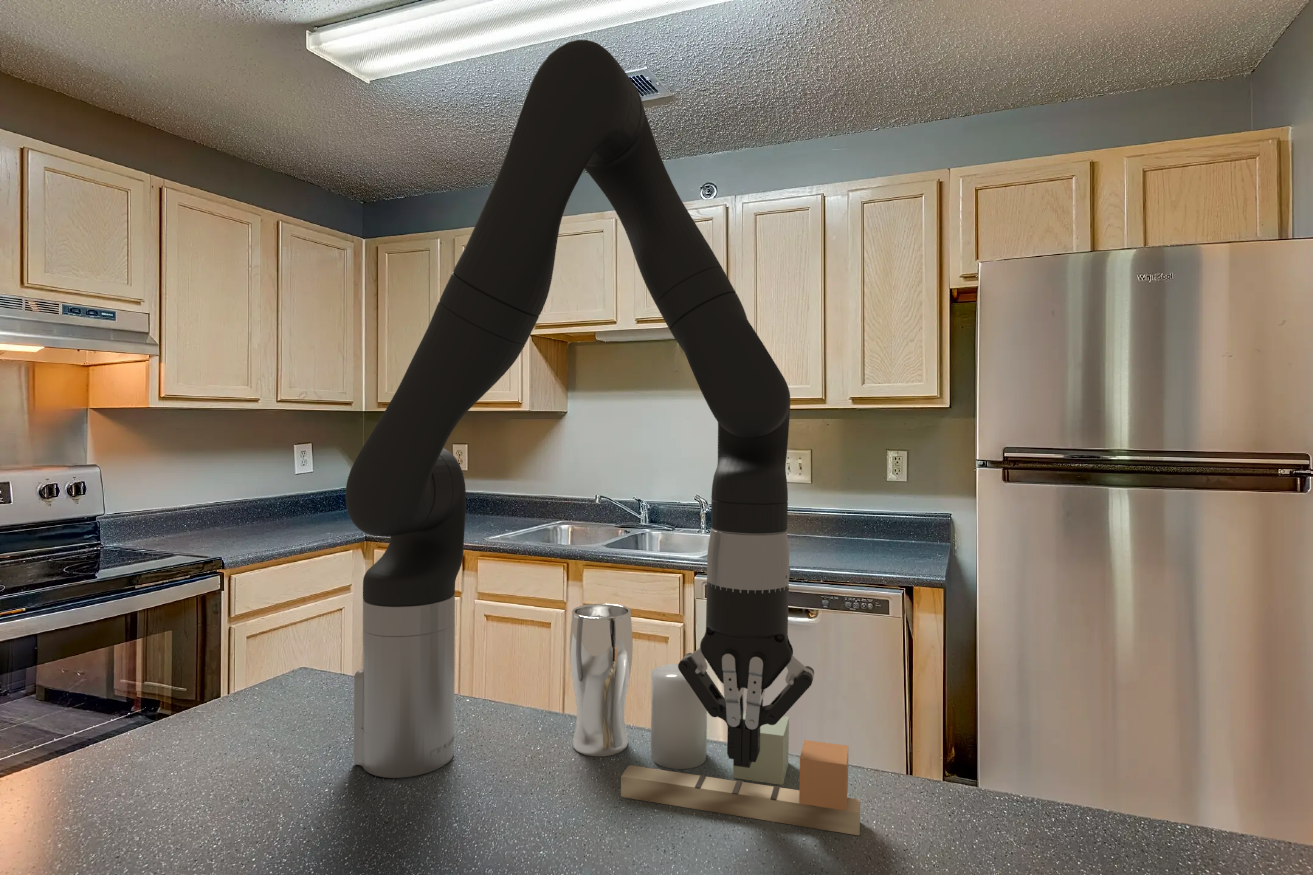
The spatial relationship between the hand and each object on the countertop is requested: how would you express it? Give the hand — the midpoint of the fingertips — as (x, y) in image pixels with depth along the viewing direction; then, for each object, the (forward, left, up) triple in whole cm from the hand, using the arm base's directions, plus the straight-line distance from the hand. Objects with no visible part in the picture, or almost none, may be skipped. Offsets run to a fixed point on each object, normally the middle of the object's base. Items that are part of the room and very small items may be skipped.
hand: (743, 763), depth 68 cm
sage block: (0, +8, -4) cm, 9 cm away
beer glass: (-18, +9, -5) cm, 20 cm away
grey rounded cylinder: (-9, +9, -4) cm, 13 cm away
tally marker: (+7, 0, -2) cm, 8 cm away
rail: (-1, 0, -4) cm, 4 cm away
